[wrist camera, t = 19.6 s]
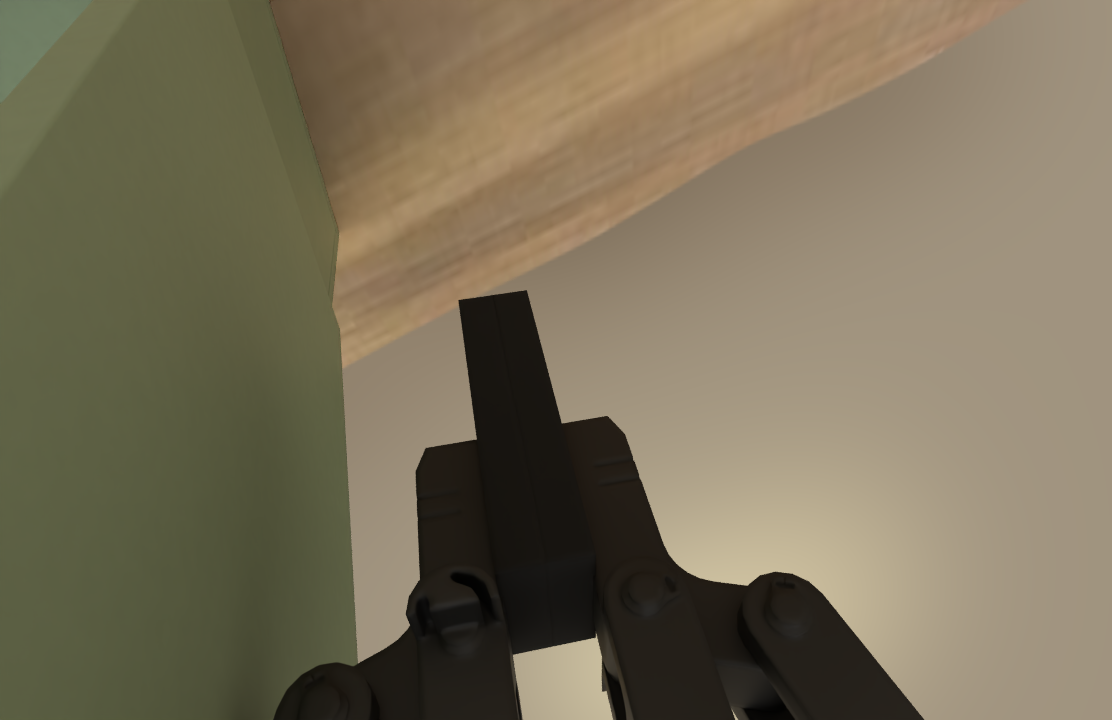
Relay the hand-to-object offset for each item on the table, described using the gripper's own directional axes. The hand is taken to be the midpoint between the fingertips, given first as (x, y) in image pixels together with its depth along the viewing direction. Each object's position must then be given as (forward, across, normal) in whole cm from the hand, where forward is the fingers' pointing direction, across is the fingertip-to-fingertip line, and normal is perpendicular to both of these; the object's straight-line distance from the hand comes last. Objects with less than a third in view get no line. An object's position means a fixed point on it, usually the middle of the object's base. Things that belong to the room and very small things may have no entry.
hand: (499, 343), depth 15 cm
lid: (0, -6, 0) cm, 6 cm away
